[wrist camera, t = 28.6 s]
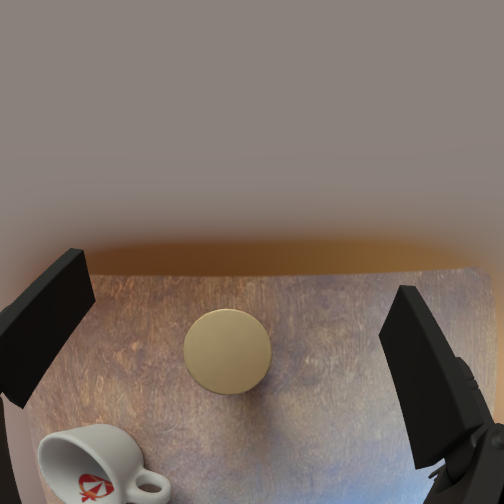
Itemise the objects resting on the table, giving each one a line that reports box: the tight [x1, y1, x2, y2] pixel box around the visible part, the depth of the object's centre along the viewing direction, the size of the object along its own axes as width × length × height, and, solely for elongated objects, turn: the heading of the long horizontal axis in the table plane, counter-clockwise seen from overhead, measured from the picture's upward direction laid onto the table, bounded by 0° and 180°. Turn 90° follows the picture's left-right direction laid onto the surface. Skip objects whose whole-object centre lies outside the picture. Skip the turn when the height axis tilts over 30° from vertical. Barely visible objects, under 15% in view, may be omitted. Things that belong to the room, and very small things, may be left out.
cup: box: [38, 424, 172, 504], centre depth 16 cm, size 11×8×8 cm
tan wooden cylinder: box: [183, 309, 272, 395], centre depth 16 cm, size 3×3×15 cm
